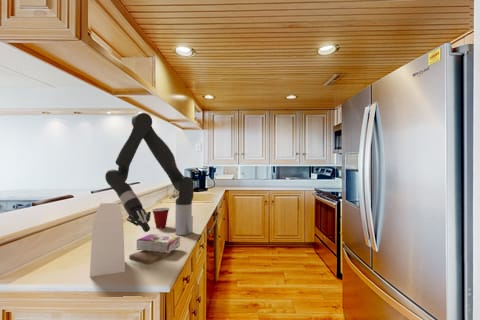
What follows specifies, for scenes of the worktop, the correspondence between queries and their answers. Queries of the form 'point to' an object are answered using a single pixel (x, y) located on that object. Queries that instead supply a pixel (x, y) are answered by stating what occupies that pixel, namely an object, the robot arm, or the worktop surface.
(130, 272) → the worktop surface
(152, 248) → the candy bar box
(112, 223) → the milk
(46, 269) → the worktop surface
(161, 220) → the plastic cup
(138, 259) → the board
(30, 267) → the worktop surface
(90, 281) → the worktop surface
